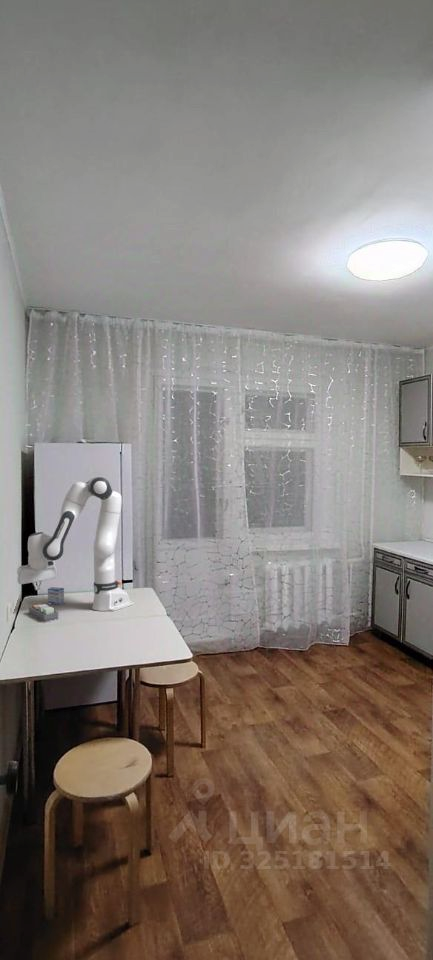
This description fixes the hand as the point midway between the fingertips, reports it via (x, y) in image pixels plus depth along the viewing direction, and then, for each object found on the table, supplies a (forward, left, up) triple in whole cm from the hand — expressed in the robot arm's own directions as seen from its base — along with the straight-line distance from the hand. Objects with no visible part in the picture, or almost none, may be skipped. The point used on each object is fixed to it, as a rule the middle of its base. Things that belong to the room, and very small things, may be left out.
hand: (38, 589), depth 261 cm
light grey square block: (0, +6, -10) cm, 12 cm away
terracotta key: (0, 0, -12) cm, 12 cm away
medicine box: (-15, -12, -13) cm, 23 cm away
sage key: (0, +13, -10) cm, 16 cm away
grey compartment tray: (0, +6, -13) cm, 14 cm away
